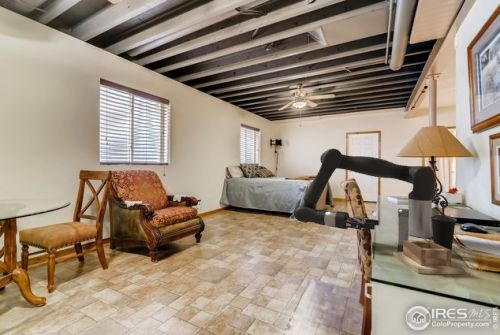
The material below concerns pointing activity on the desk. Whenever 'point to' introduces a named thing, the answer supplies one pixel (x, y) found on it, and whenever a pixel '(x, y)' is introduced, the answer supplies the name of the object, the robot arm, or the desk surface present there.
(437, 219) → the drinking cup
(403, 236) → the ball topped joystick
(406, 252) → the wooden square box
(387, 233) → the desk surface
